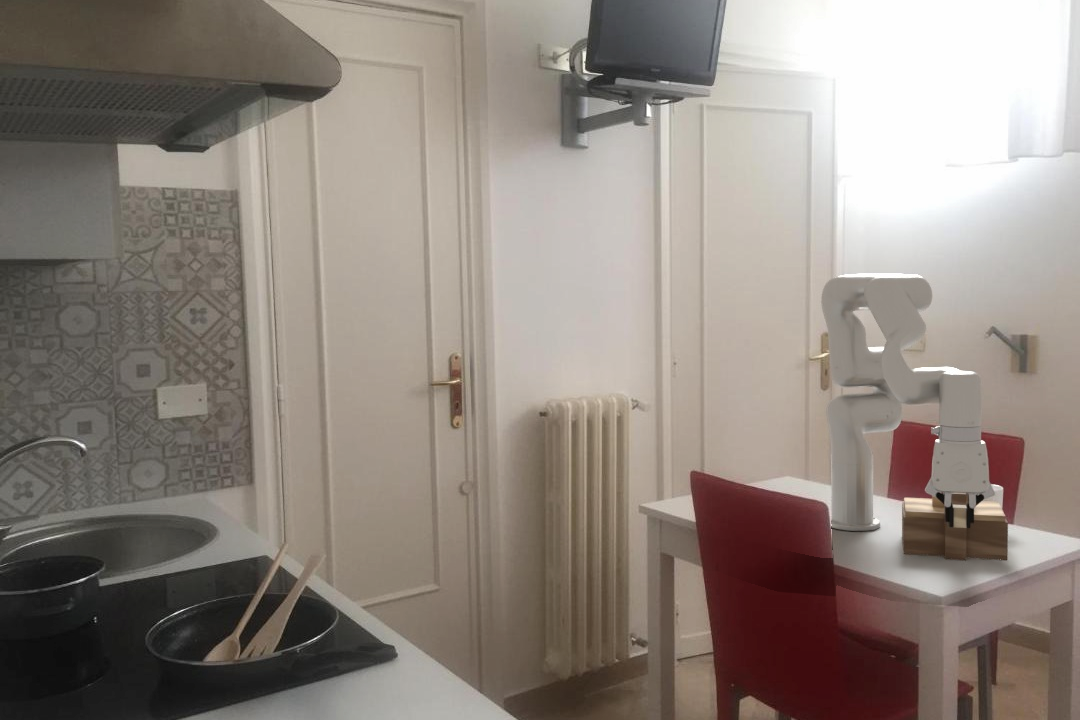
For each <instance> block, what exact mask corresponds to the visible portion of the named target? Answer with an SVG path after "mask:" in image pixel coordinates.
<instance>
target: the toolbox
mask: <svg viewBox="0 0 1080 720" xmlns="http://www.w3.org/2000/svg"><path fill="white" fill-rule="evenodd" d="M951 502H952V505H966V493H952V495H951ZM901 513H902V514H901V517H902V518H901V529H902V530H901V534H902V535H901V536H902V537H901V539H902V549H903V554H904V555H916V556H933V557H944V559H945V560H955V561H965V562H966V561H967V559H976V558H979V559H978V560H980V559H981V560H991V559H999V560H998V561H1007V560H1008V557H1009V556H1008V555H1009V554H1008V553H1009V552H1008V549H1009V547H1008V546H1009V545H1008V544H1009V540H1008V539H1009V538H1008V537H1009V523H1008V522H1009V521H1008V520H1007V519H1006V522H997V521H978V520H974V523H971V527H970V528H957V527H949V522H945V519H939V518H920V517H906V515H905V506H904V501H901ZM1000 559H1001V560H1000Z"/></svg>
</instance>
